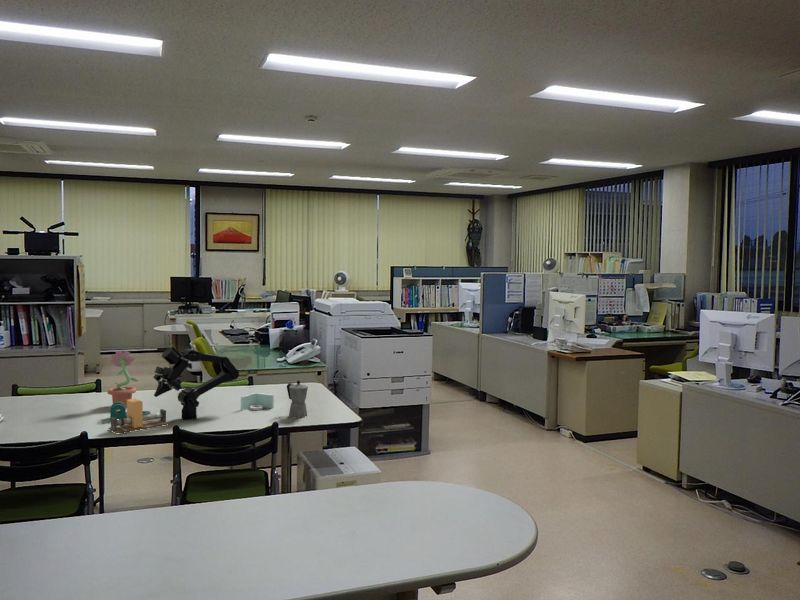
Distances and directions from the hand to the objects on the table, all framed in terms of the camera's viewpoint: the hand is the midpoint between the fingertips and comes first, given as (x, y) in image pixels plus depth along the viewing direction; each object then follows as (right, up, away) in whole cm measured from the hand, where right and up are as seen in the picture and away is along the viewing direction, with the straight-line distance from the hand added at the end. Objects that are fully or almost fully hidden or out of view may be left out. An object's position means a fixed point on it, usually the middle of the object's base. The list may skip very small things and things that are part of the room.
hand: (154, 396), depth 296 cm
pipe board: (-6, -14, -4) cm, 16 cm away
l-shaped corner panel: (+41, -13, +34) cm, 55 cm away
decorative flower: (-29, -11, +33) cm, 46 cm away
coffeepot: (+63, -13, +23) cm, 69 cm away
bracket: (-17, -13, +12) cm, 24 cm away
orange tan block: (-7, -13, -6) cm, 16 cm away
